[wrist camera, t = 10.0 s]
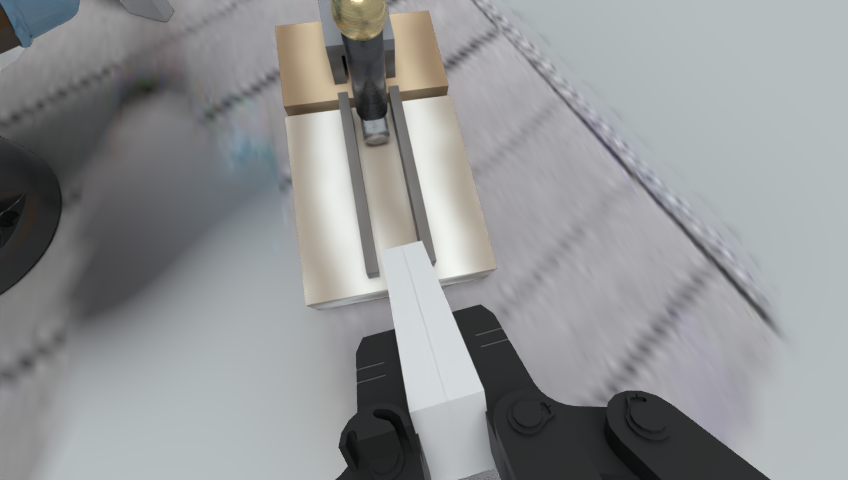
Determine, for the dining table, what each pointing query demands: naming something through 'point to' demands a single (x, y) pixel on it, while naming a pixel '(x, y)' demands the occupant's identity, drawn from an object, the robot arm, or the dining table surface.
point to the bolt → (365, 61)
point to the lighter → (149, 8)
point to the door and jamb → (376, 164)
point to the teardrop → (10, 56)
